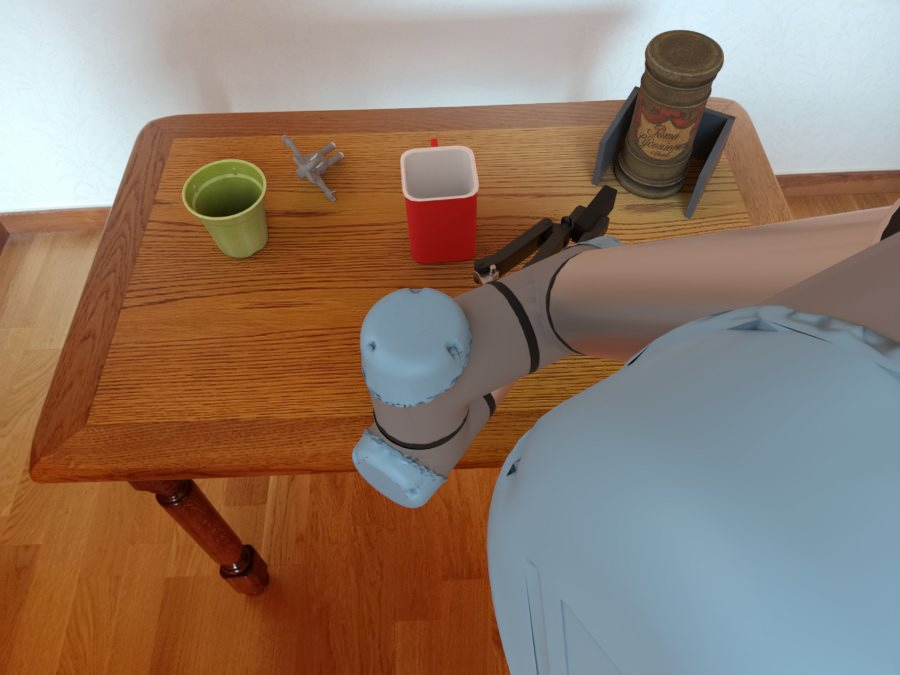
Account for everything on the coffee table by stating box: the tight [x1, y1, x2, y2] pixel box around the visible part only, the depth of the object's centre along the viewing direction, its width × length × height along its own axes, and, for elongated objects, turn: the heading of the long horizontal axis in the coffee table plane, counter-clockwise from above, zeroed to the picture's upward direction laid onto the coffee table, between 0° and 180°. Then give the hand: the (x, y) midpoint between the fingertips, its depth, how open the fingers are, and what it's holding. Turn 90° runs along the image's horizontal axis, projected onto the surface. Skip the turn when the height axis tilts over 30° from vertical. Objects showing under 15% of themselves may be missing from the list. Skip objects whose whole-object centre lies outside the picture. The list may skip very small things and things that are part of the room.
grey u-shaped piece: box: [591, 85, 737, 219], centre depth 89 cm, size 12×13×7 cm
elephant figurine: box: [281, 133, 345, 203], centre depth 90 cm, size 10×6×9 cm
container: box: [614, 29, 725, 200], centre depth 84 cm, size 9×9×18 cm
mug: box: [399, 137, 480, 265], centre depth 82 cm, size 12×8×11 cm
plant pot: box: [181, 158, 269, 259], centre depth 83 cm, size 9×9×9 cm
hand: (609, 196), depth 74 cm, fingers closed
